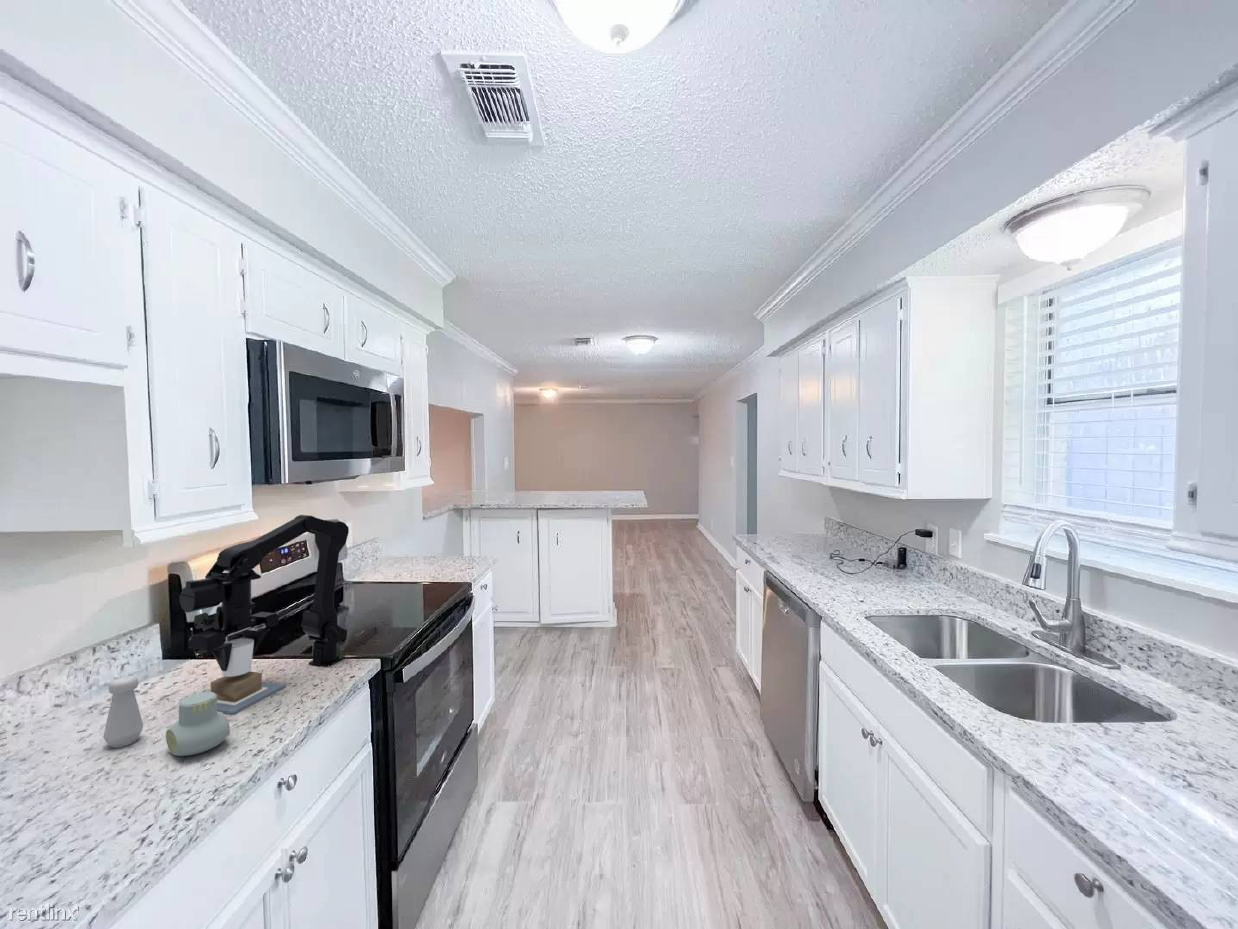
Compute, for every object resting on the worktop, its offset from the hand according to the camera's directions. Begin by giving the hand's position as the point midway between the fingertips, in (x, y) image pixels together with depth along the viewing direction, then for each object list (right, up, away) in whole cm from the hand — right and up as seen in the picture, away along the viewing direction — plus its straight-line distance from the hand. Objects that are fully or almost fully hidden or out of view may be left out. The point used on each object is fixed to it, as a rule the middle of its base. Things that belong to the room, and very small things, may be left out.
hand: (236, 665), depth 124 cm
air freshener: (+8, -9, -21) cm, 24 cm away
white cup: (0, -2, 0) cm, 2 cm away
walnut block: (0, -7, 0) cm, 7 cm away
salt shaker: (-8, -8, -20) cm, 23 cm away
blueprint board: (0, -8, 0) cm, 8 cm away
